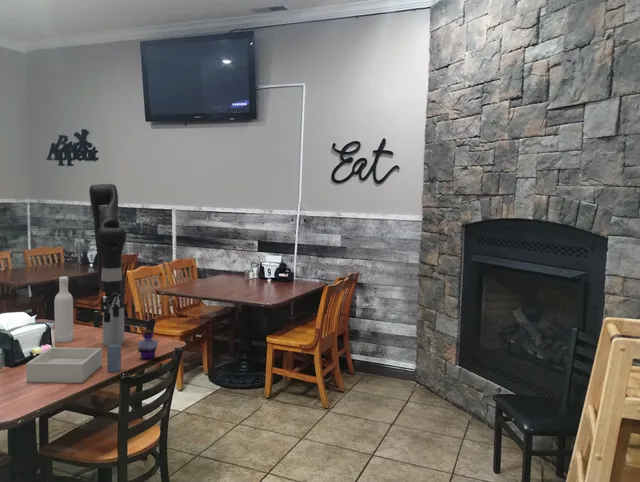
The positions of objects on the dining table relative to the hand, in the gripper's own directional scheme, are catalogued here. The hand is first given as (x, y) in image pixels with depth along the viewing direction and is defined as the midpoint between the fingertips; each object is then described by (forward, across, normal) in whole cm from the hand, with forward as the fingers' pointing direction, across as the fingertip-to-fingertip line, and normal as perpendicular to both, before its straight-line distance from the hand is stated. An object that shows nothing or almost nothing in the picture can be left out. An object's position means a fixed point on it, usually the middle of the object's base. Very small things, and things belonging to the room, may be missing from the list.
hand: (111, 319), depth 205 cm
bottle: (+21, -38, -38) cm, 58 cm away
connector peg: (+21, 0, +1) cm, 21 cm away
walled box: (+21, +5, -16) cm, 27 cm away
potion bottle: (+21, -17, +9) cm, 28 cm away
